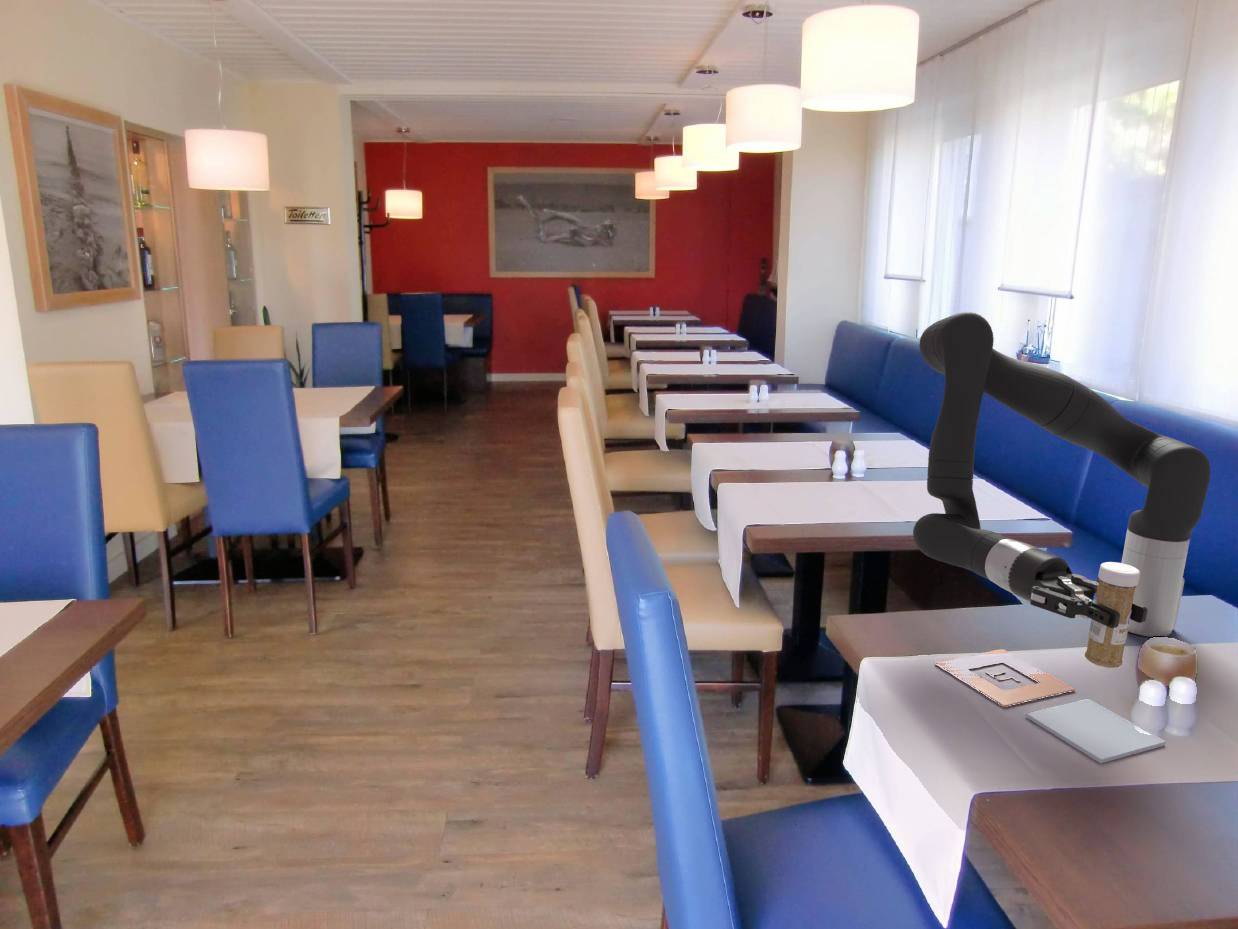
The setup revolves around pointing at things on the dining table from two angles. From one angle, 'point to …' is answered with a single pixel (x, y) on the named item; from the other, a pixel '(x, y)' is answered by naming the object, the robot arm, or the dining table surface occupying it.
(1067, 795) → the dining table surface
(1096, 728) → the pad
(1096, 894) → the dining table surface
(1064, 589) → the robot arm
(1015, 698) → the peach square frame
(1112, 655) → the sprinkles bottle
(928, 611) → the dining table surface
